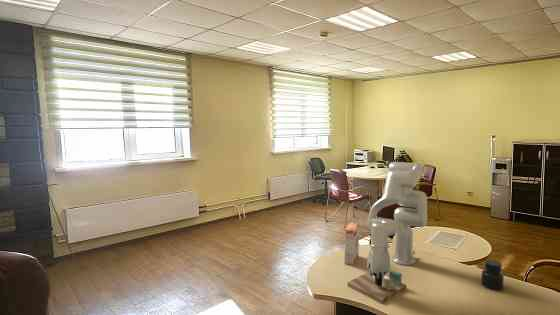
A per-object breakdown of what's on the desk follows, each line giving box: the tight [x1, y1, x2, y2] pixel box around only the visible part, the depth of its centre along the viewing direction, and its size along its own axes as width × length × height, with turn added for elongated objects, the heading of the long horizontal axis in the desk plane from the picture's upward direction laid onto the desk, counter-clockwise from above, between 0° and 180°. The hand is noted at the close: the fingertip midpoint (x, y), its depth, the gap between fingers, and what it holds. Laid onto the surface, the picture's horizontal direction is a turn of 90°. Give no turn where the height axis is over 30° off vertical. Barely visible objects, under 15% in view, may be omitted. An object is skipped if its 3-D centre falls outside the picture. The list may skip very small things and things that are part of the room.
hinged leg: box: [371, 274, 394, 290], centre depth 154 cm, size 16×3×4 cm, turn 15°
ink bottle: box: [480, 259, 505, 291], centre depth 152 cm, size 10×9×12 cm
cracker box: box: [344, 222, 360, 266], centre depth 184 cm, size 14×6×21 cm, turn 155°
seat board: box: [347, 269, 407, 305], centre depth 154 cm, size 20×20×7 cm
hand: (378, 285), depth 150 cm, fingers closed
